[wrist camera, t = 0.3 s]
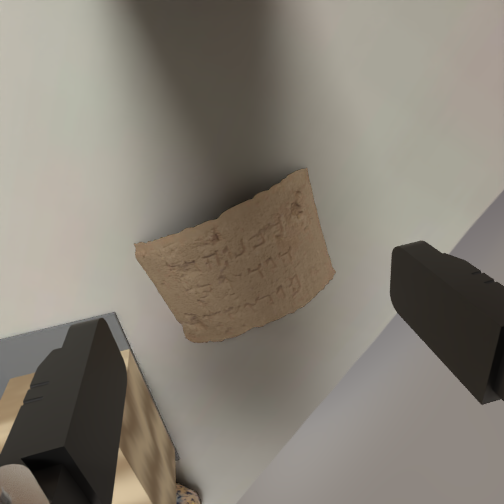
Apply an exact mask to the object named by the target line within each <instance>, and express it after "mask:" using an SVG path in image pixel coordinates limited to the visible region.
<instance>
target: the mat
mask: <svg viewBox="0 0 504 504" xmlns="http://www.w3.org/2000/svg"><path fill="white" fill-rule="evenodd" d="M97 318H104V319H105V320H106V322H107V324H108V326H109V328H110V330H111V332H112V335H113V337H114V339H115V341H116V344H117V346H118V348H119V350H120V351H123V350H127V349H130V351H131V353H132V355H133V357H134V354H133V352H132V350H131V348H130V345H129V343H128V341H127V339H126V336H125V334H124V332H123V330H122V327H121V325H120V323H119V321H118V318H117V316H116V314H115V312H113V313H109V314H105V315H100V316H96V317H92V318H88V319H84V320H79V321H75V322H71V323H67V324H63V325H58V326H54V327H50V328H46V329H42V330H38V331H33V332H29V333H25V334H21V335H17V336H12V337H8V338H4V339H0V400H1V397H2V395H3V393H4V391H5V389H6V386H7V384H8V382H9V380H10V379H11V378H15V377H19V376H23V375H27V374H31V373H35V372H36V370H37V367H38V366H39V365H40V364H41V363H42V362H43V361H44V359H45V358H46V357H47V356H48V355H49V354H50V352H51V351H52V350H54V349H58V348H62V345H63V343H64V340H65V337H66V335H67V332H68V329H69V327H70V326H71V325H73V324H77V323H81V322H85V321H89V320H93V319H97ZM134 360H135V362H136V364H137V366H138V363H137V361H136V359H135V357H134ZM138 369H139V371H140V373H141V375H142V372H141V370H140V368H139V366H138ZM142 378H143V380H144V382H145V384H146V381H145V379H144V377H143V375H142ZM146 387H147V389H148V391H149V393H150V390H149V388H148V386H147V384H146ZM150 395H151V393H150ZM151 398H152V400H153V402H154V399H153V397H152V395H151ZM154 404H155V402H154ZM155 407H156V409H157V411H158V408H157V406H156V404H155ZM158 413H159V411H158ZM159 416H160V418H161V420H162V417H161V415H160V413H159ZM162 422H163V420H162ZM163 425H164V427H165V429H166V426H165V424H164V422H163ZM166 431H167V429H166ZM167 433H168V431H167ZM168 436H169V438H170V435H169V433H168ZM170 440H171V438H170ZM171 442H172V440H171ZM172 445H173V447H174V444H173V442H172ZM174 449H175V447H174ZM177 460H179V456H178V453H177V451H176V449H175V461H177Z"/></svg>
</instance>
